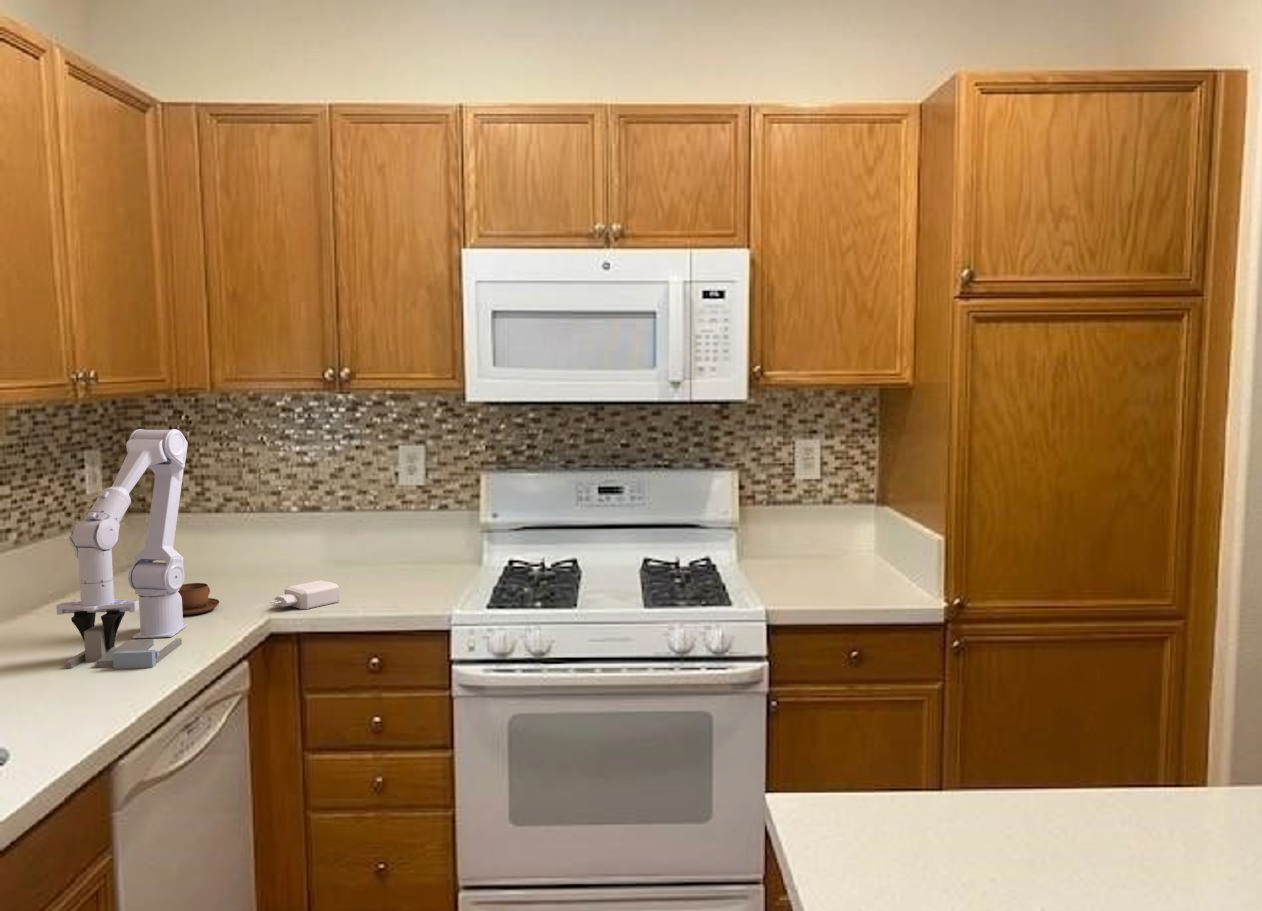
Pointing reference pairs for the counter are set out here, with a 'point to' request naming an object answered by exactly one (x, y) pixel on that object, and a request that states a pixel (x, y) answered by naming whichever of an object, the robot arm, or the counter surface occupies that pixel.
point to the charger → (309, 595)
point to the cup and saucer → (196, 598)
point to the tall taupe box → (95, 643)
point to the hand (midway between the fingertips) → (100, 648)
